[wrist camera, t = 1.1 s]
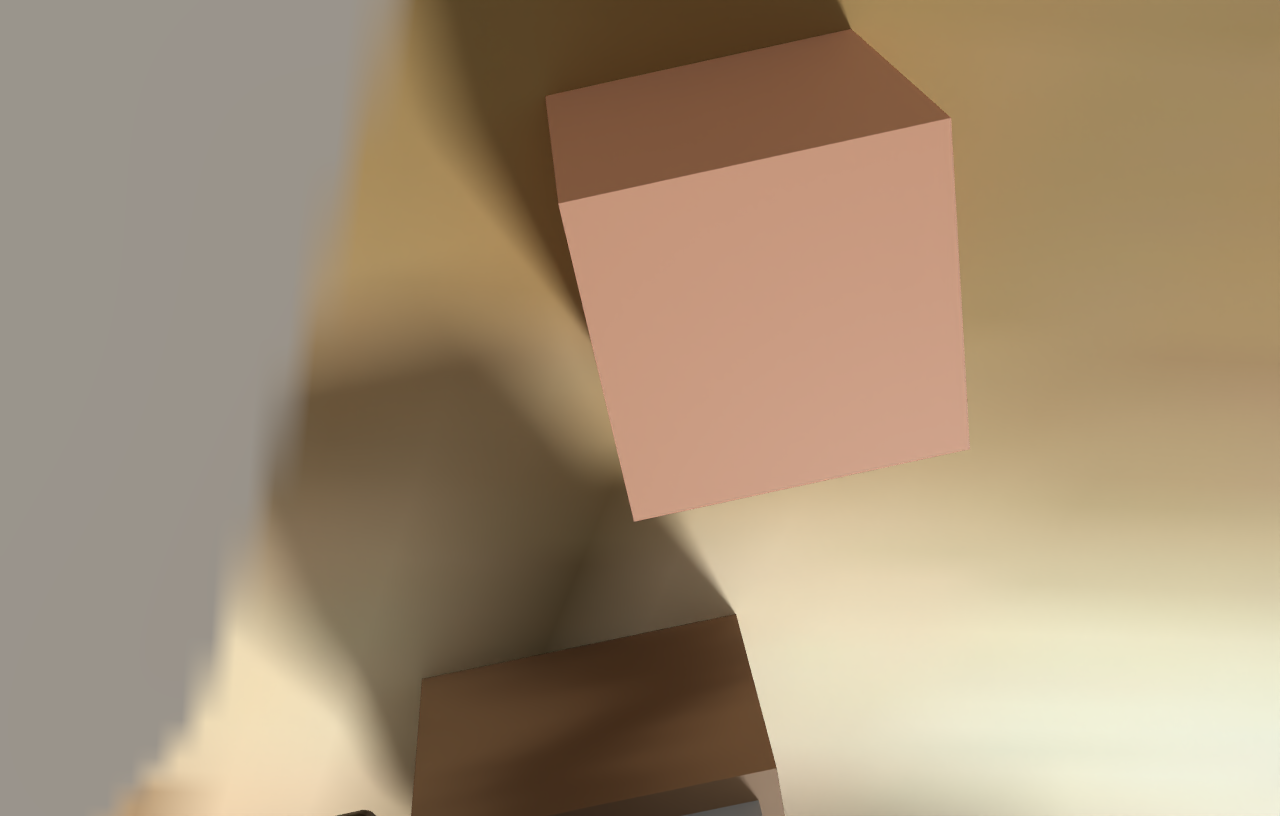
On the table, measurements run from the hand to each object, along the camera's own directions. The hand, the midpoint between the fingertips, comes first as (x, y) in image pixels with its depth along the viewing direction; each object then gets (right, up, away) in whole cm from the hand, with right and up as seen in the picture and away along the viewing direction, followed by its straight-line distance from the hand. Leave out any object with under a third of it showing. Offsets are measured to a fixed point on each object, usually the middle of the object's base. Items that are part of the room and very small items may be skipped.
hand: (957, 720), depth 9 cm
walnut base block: (-3, -4, +15) cm, 16 cm away
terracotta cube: (-1, +6, +9) cm, 11 cm away
